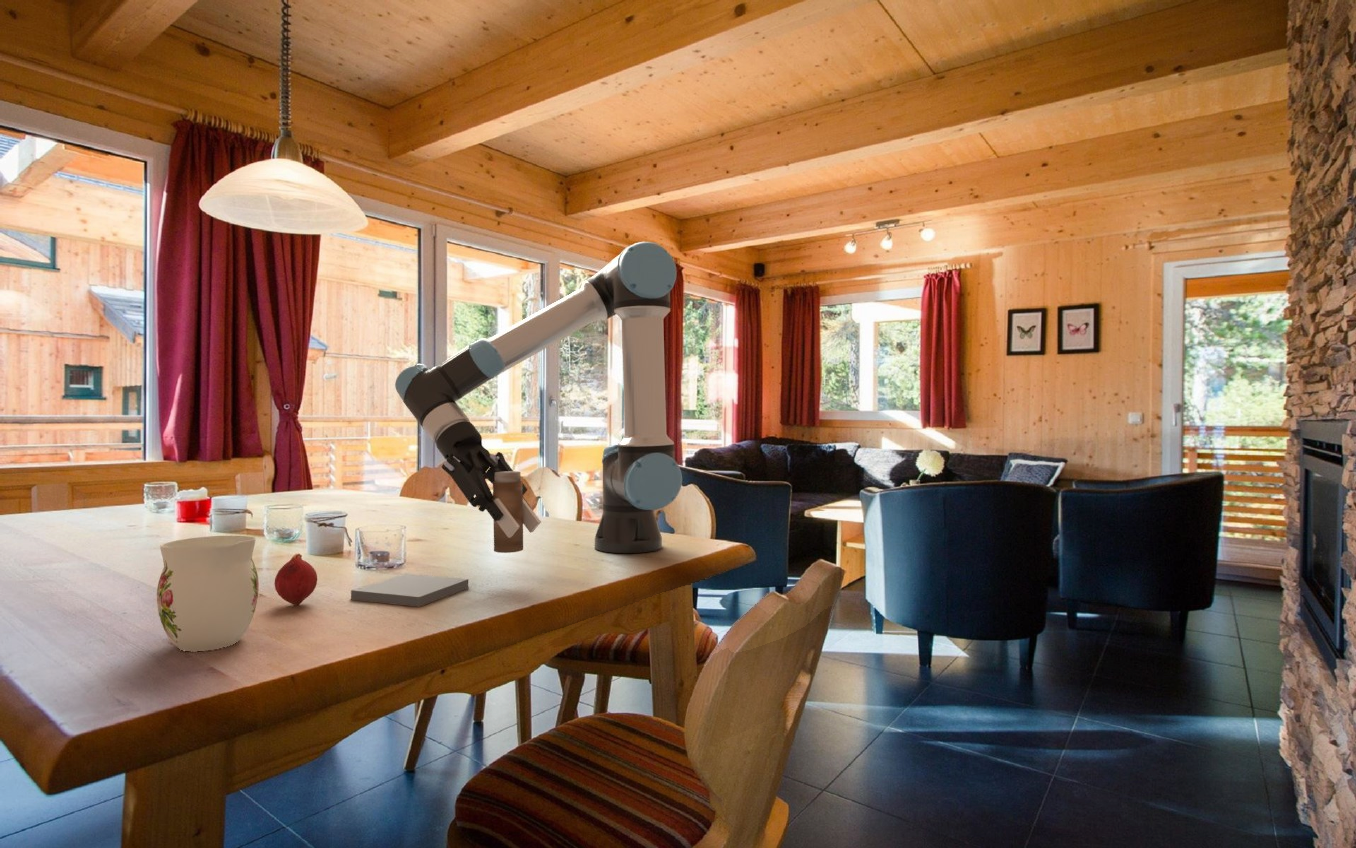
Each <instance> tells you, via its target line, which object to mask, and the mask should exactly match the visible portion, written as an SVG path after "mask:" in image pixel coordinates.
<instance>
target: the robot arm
mask: <svg viewBox="0 0 1356 848" xmlns="http://www.w3.org/2000/svg"><path fill="white" fill-rule="evenodd" d="M676 280H677V266H676V262H675V259H674V258H673V257H672V255H671V253H669V252H668V251H667V249H665V248H664V246H661V245H659V244H657V243H655V242H652V241H639V242H635V243H633V244H630V245H628V246H627V247H625V248H624V249H622V251H621V252H620V254H619V255H616V257H614V258H613V259H611V260H610V261H609V262H608V263H607V264H606V265H605V266H604V267H603V268H602V269H601V270H599V271H598V272H597V273H595V274H594V275H593V276H591V277H589V278H587V279H586V280H584V281H582V284H581V287H580V288H579V289H577V290H575V291H573V292H572V293H570V294H568V295H566V296H564V297H562V298H561V299H559V300H557V301H556V302H553V303H551V304H549V305H548V306H546V307H544V308H543V309H540V310H539V311H537V312H535V313H532V314H531V315H530V316H528V317H526V318H524V319H522V320H520V321H519V322H517V323H515V324H513V325H511V326H510V327H508V328H506V329H504V330H502V331H501V332H499V333H497V334H494V335H493V336H491V337H488V338H485V337H481V338H479V339H477V340H476V341H474V342H471V343H470V344H468V345H467V346H465V347H464V348H462V349H461V350H459V351H458V352H456V353H455V354H453V355H452V356H450V357H449V358H447V359H446V360H444V361H443V362H442V363H441V362H440V363H439V364H437V365H436V366H434V367H432V368H431V367H429V366H428V365H426V364H424V363H417V364H415V365H410V366H408V367H406V368H404V369H403V370H402V371H401V372H400V373H399V374H398V376H397V377H396V379H395V384H394V385H395V390H396V392H397V394H398V395H399V397H400V399H401V400H402V402H403V403H404V406H406V408H407V409H408V410H409V412H410V413H411V414H412V415H413V417H414V419H415V420H416V421H417V422H418V423H419V424H420V426H421V428H422V429H423V430H424V431H425V433H426V434H427V435H428V437H429V438H430V439H431V441H432V442H433V443H434V445H435V446H436V448H437V450H438V451H439V452H440V453H441V455H442V456H443V458H444V459H445V461H444V462H443V464H442V465H441V469H443V470H444V471H445V472H446V473H447V474H448V475H449V476H450V477H451V479H452V480H453V482H454V483H455V484H456V485H457V487H458V488H459V490H460V491H461V493H462V494H463V496H465V499H466V500H467V502H469V504H470V505H471V507H473V508H477V507H478V506H479V507H478V511H479V512H481V513H483V512H485V510H486V511H487V513H488V514H489V515H490V517H491V519H492V520H493V521H494V520H495V521H496V522H497V523H498V524H499V526H500V527H501V529H502V530H503V531H504V533H505V534H506V535H507V537H508V538H510V537H512V536H513V535H514V533H515V532H516V531H517V530H518V528H519V527H520V526H519V525H518V523H517V522H516V521H515V519H514V518H513V517H512V515H511V514H510V513H509V511H508V510H507V509H506V507H505V506H504V505H503V503H502V502H501V501H500V499H499V498H497V499H495V500H494V501H493V499H494V497H493V492H492V491H491V489H490V486H489V484H488V482H487V480H488V481H489V482H490V483H491V484H492V485H493V482H494V481H495V472H504V471H514V470H513V469H512V468H511V466H510V465H509V463H508V462H507V461H506V459H505V456H504V454H503V453H502V452H500V451H497V452H496V454H492V453H490V452H489V450H488V449H487V448H485V447H484V446H483V440H482V439H483V438H482V435H481V433H480V432H479V431H478V429H477V428H476V427H475V426H474V424H473V423H472V422H471V421H470V419H469V417H468V416H467V415H466V414H465V412H464V411H463V410H462V408H461V407H460V406H459V405H458V404H457V401H459V400H461V399H462V398H463V397H465V396H467V395H468V394H470V393H471V392H473V391H475V390H476V389H478V388H479V387H481V386H483V385H484V384H485V383H487V382H489V381H490V380H493V379H494V378H496V377H497V376H499V375H501V374H503V373H504V372H506V371H508V370H509V369H511V368H513V367H515V366H517V365H518V364H520V363H522V362H524V361H525V360H527V359H529V358H531V357H533V356H534V355H536V354H538V353H540V352H542V351H543V350H545V349H547V348H549V347H551V346H553V345H554V344H556V343H558V342H559V341H562V340H564V339H565V338H567V337H569V336H571V335H572V334H574V333H576V332H578V331H579V330H581V329H583V328H584V327H586V326H589V325H591V324H592V323H593V322H595V321H597V320H601V321H604V322H605V321H606V320H608V319H610V318H612V317H614V316H618V318H620V319H621V338H622V339H621V342H622V343H621V344H622V371H623V378H622V379H623V402H624V403H623V407H624V408H623V410H624V412H623V413H624V414H623V415H624V416H623V417H624V436H623V438H622V439H621V440H620V441H619V442H618V443H617V444H612V445H608V446H606V447H605V448H604V449H603V451H602V453H603V454H602V459H601V464H602V515H601V517H600V521H599V523H598V527H597V530H596V532H595V536H594V549H595V550H597V551H601V552H604V553H605V552H606V553H613V554H638V553H649V552H654V551H658V550H661V549H662V548H663V538H662V537H663V536H662V534H661V531H660V528H659V525H658V521H657V518H656V515H655V514H656V513H655V510H661V509H664V508H666V507H668V505H670V504H671V503H672V502H674V500H676V498H677V497H678V495H679V493H680V491H681V489H682V485H683V474H682V470H681V468H680V466H679V464H678V463H677V461H676V460H675V442H674V441H673V440H672V439H671V438H670V437H669V436H668V434H667V411H666V406H667V405H666V403H667V402H666V377H665V376H666V372H665V371H666V370H665V366H666V365H665V340H664V338H665V337H664V335H665V334H664V330H665V329H664V319H665V317H666V316H667V315H668V314H670V312H671V291H672V289H673V288H674V286H675V283H676ZM522 492H523V526H524V527H525V528H526V529H527V531H528V532H529V533H530V534H531V533H534V532H535V530H537V528H538V527H539V525H541V524H542V521H541V520H540V519H539V517H538V515H536V513H535V512H534V510H533V508H532V507H531V506H530V504H529V502H528V501H527V500H526V499H525V497H524V495H525V494H526V493H527V492H528V488H527V487H526V486H525V484H524V483H523V482H522Z"/></svg>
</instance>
